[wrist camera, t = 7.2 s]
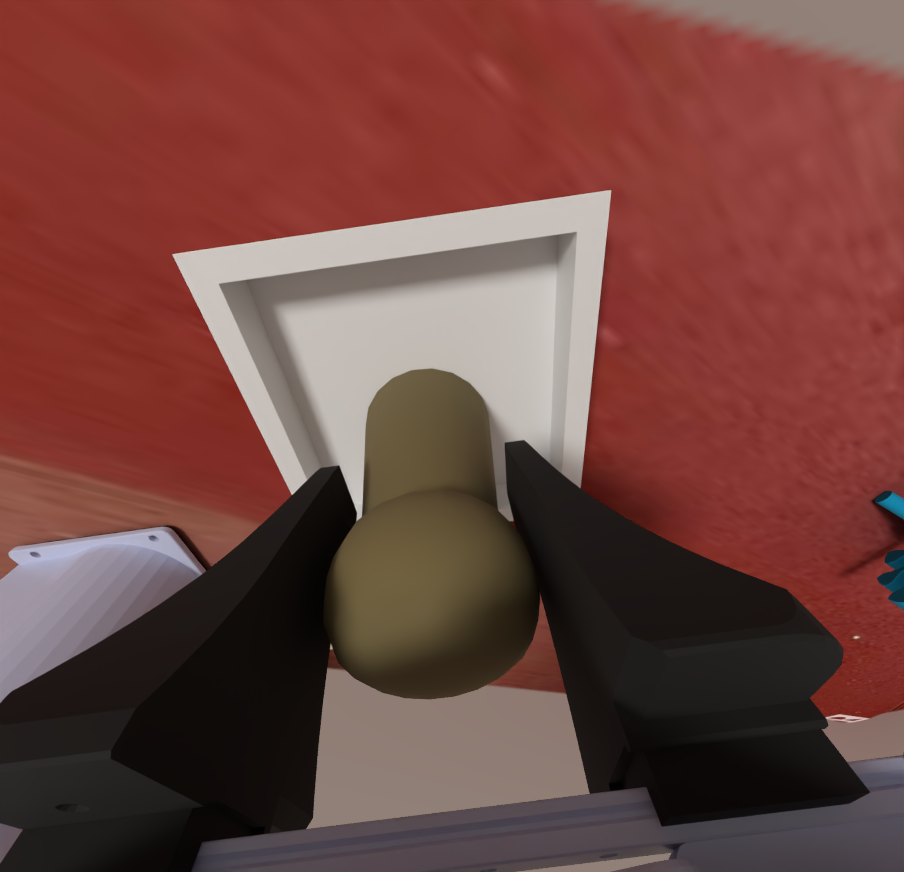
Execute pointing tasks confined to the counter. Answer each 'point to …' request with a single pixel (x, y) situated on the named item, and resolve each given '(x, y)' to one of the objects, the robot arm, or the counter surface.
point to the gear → (893, 552)
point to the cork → (430, 550)
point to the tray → (413, 327)
